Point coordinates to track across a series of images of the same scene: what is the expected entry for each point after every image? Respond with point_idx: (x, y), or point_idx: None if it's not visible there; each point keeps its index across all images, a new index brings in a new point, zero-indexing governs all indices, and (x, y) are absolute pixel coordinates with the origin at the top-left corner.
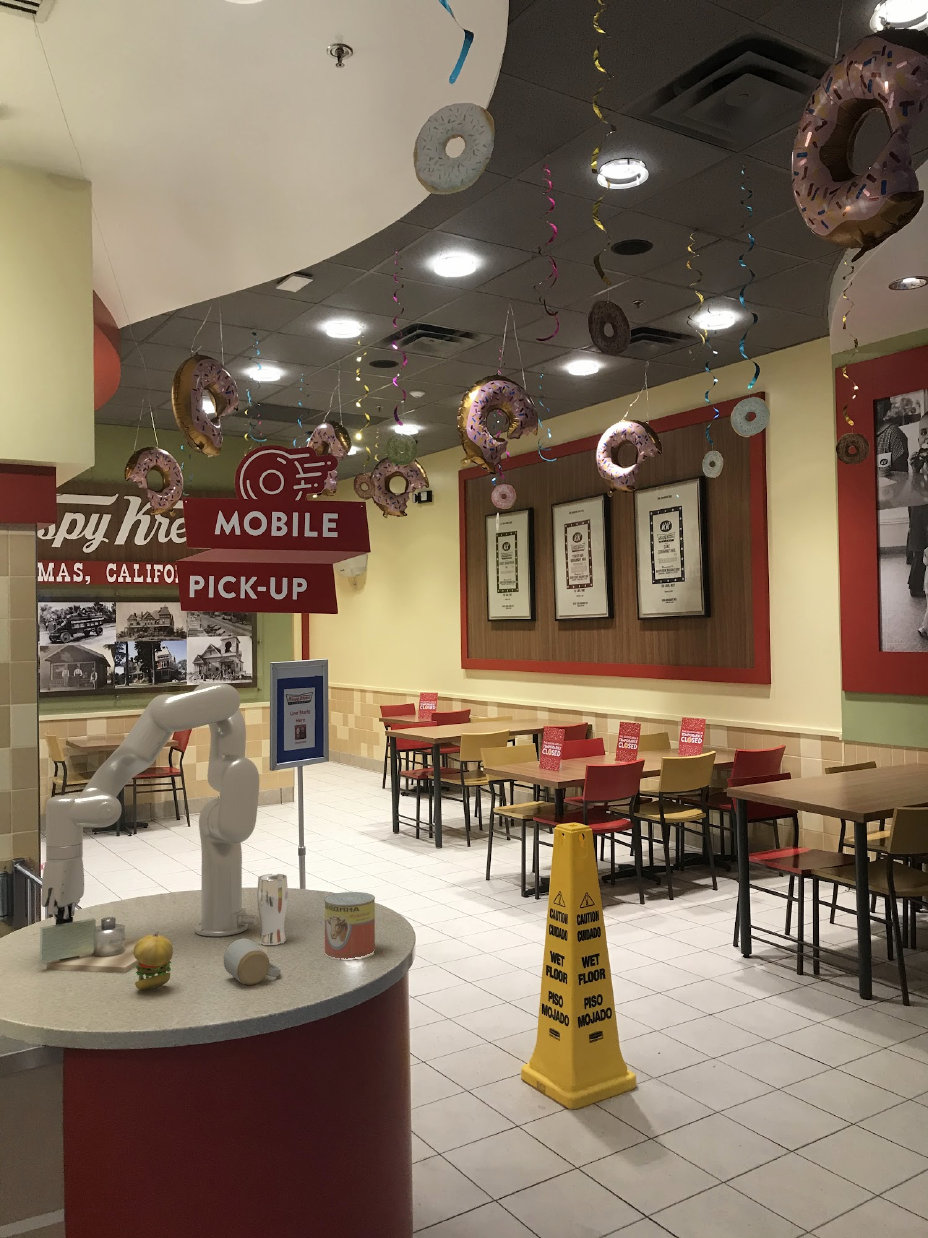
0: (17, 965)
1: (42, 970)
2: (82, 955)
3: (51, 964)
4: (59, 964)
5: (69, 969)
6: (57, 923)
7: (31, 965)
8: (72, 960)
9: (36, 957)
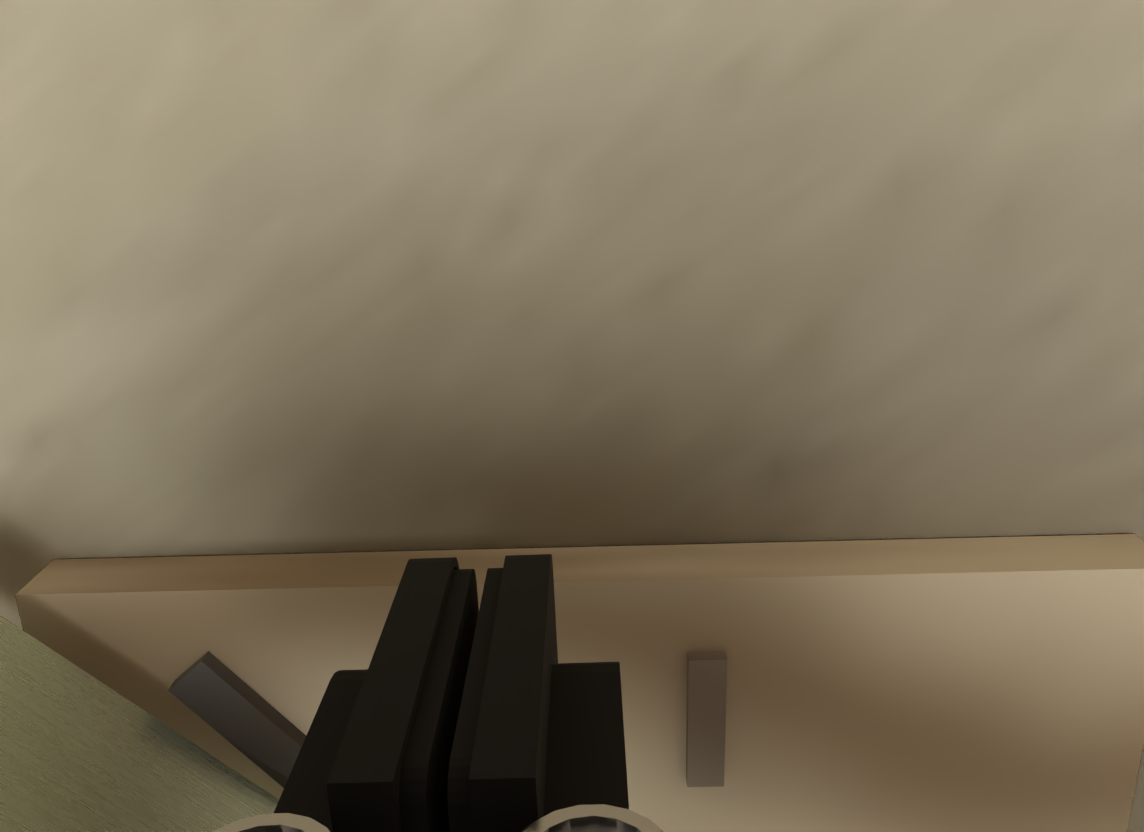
0: (69, 44)
1: (16, 526)
2: None
3: None
4: None
5: None
6: (283, 801)
7: (134, 258)
8: None
9: (470, 87)
